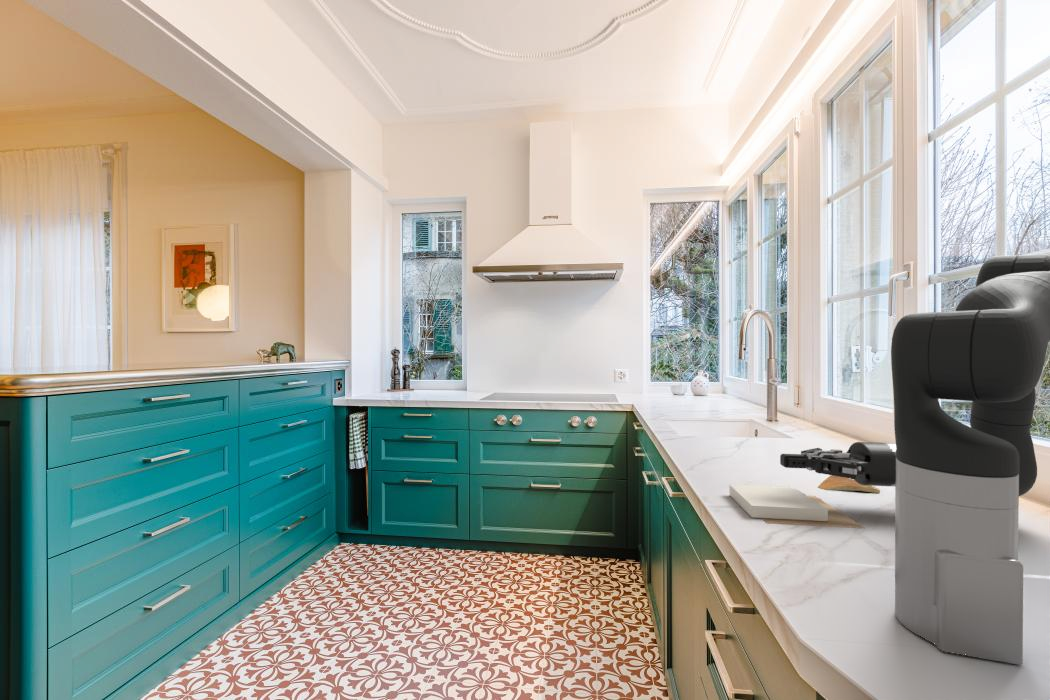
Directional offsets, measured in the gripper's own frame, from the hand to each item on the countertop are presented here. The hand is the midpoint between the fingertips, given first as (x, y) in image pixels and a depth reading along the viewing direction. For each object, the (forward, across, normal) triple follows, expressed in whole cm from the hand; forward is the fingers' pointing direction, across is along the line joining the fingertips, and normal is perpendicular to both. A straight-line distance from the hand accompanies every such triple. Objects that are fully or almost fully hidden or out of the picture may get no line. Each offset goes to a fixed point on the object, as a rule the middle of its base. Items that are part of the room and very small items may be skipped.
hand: (782, 460), depth 81 cm
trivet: (-2, 0, +9) cm, 9 cm away
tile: (-5, 0, +8) cm, 9 cm away
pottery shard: (-19, -15, +10) cm, 26 cm away
